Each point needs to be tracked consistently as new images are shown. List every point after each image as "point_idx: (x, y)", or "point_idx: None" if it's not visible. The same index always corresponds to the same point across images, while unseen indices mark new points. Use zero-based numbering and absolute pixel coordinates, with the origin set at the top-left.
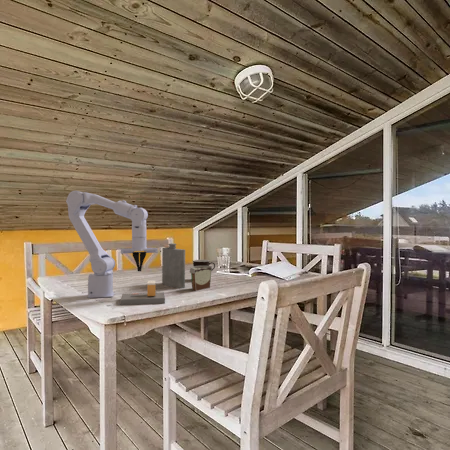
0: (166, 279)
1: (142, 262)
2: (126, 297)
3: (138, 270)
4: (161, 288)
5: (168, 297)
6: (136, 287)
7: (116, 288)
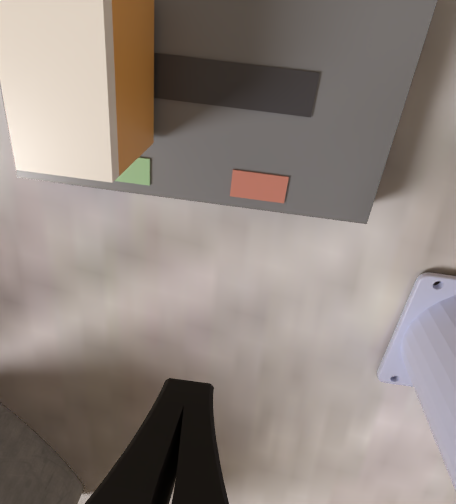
0: (40, 488)
1: (99, 493)
2: (367, 47)
3: (201, 390)
4: (79, 402)
5: (3, 153)
6: (223, 457)
7: (336, 467)
